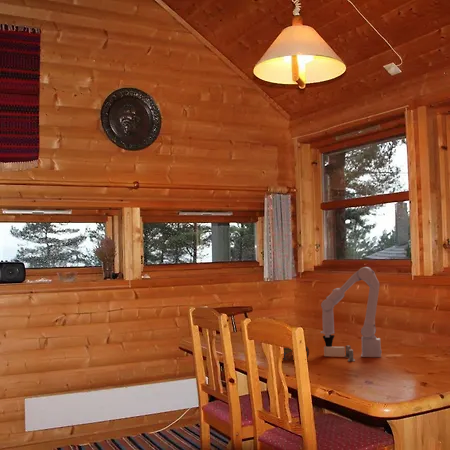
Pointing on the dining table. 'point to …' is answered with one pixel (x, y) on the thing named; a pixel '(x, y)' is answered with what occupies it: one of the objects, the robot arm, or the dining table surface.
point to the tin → (289, 355)
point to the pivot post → (347, 351)
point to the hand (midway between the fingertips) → (329, 349)
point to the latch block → (351, 355)
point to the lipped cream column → (334, 351)
